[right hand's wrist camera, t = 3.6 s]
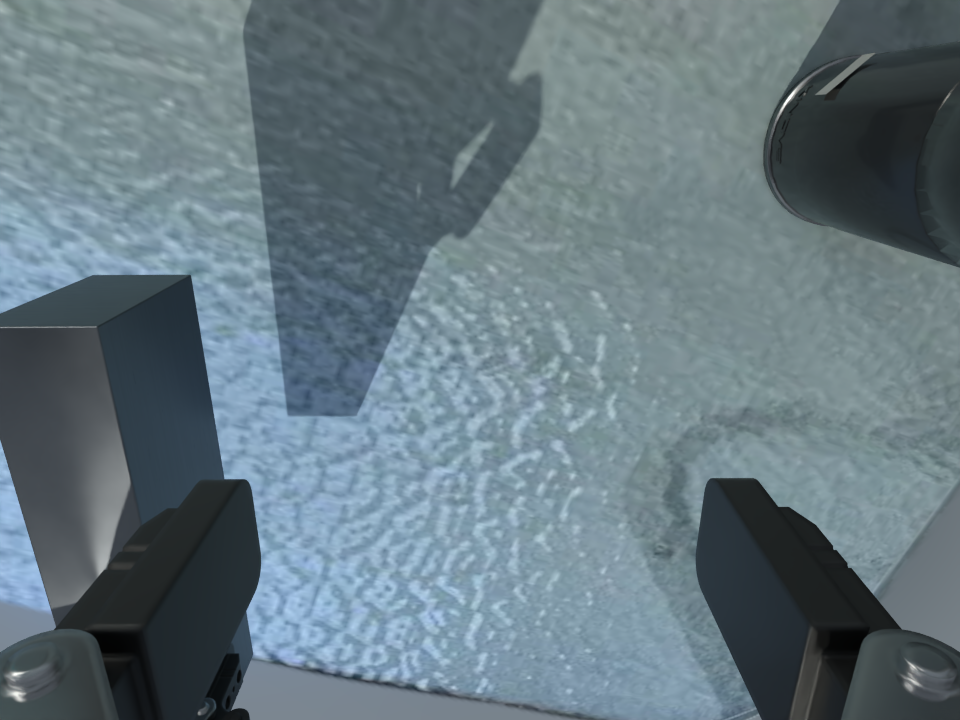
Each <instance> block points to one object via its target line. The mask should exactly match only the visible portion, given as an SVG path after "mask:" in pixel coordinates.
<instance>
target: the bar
mask: <svg viewBox="0 0 960 720" xmlns="http://www.w3.org/2000/svg"><path fill="white" fill-rule="evenodd" d="M0 440H1V443H2V447H3V450H4V453H5V457H6V460H7V463H8V467H9V470H10V473H11V477H12V480H13V484H14V487H15V490H16V494H17V497H18V500H19V504H20V507H21V510H22V514H23V517H24V520H25V524H26V527H27V531H28V534H29V537H30V541H31V544H32V547H33V551H34V554H35V557H36V561H37V564H38V567H39V571H40V574H41V578H42V581H43V584H44V588H45V591H46V594H47V598H48V601H49V604H50V608H51V611H52V614H53V618H54V621H55V624H56V627H57V626H58V624H59V623H60V622H61V621H62V620H63V618H64V617H65V616H66V615H67V614H68V612H69V611H70V610H71V609H72V608H73V606H74V605H75V604H76V603H77V602H78V600H79V599H80V598H81V597H82V596H83V594H84V593H85V592H86V591H87V590H88V588H89V587H90V586H91V585H92V584H93V582H94V581H95V580H96V579H97V578H98V576H99V575H100V574H101V573H102V572H103V570H107V569H108V564H109V563H110V562H111V561H112V560H113V558H114V557H115V556H116V555H117V554H118V552H122V550H123V546H124V545H125V544H126V543H127V541H128V540H129V539H130V538H131V537H132V535H133V534H134V533H135V532H136V531H137V529H138V528H139V527H140V526H141V525H143V524H144V523H146V522H147V521H149V520H150V519H152V518H153V517H155V516H156V515H158V514H159V513H161V512H162V511H164V510H165V509H167V508H178V507H179V506H180V505H181V503H182V502H183V501H184V499H185V498H186V497H187V496H188V494H189V493H190V492H191V490H192V489H193V488H194V486H195V485H196V484H197V483H198V482H199V481H200V480H203V479H224V474H223V468H222V462H221V455H220V449H219V443H218V437H217V431H216V425H215V419H214V413H213V407H212V401H211V395H210V388H209V382H208V376H207V370H206V364H205V358H204V352H203V346H202V340H201V334H200V328H199V322H198V315H197V309H196V303H195V297H194V291H193V285H192V279H191V275H92V276H90V277H88V278H85V279H83V280H80V281H78V282H75V283H73V284H71V285H68V286H66V287H63V288H61V289H59V290H56V291H54V292H51V293H49V294H47V295H44V296H42V297H39V298H37V299H34V300H32V301H30V302H27V303H25V304H22V305H20V306H18V307H15V308H13V309H10V310H8V311H6V312H3V313H1V314H0ZM231 643H233V645H234V650H235V653H239V656H240V662H241V667H242V673H243V677H244V675H245V673H246V670H247V668H248V665H249V663H250V661H251V658H252V656H253V650H252V644H251V638H250V632H249V626H248V620H247V614H246V612H245V614H244V617H243V619H242V621H241V623H240V625H239V627H238V629H237V631H236V633H235V636H234V638H233V640H232V642H231Z"/></svg>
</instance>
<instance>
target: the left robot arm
mask: <svg viewBox="0 0 960 720" xmlns="http://www.w3.org/2000/svg"><path fill="white" fill-rule="evenodd" d="M242 683H243V673H242V667H241V662H240V656H239V653H235V650H234V645H233V643H231V644H230V646H229V648H228V650H227V652H226V655H225V657H224V659H223V661H222V663H221V665H220V667H219V669H218V671H217V674H216V676H215V678H214V680H213V682H212V684H211V686H210V688H209V690H208V693H207V695H206V697H205V699H204V701H203V703H202V705H201V707H200V709H199V712H198V714H197V716H196V718H195V720H250V717H249V713H248V711H247V710H245V709H241V708H238V709H234V710H232V711H231V709H232V707H233V704H234V702H235V699H236V696H237V695H238V692H239V689H240V687H241V685H242Z"/></svg>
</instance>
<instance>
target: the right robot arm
mask: <svg viewBox="0 0 960 720" xmlns="http://www.w3.org/2000/svg"><path fill="white" fill-rule="evenodd" d="M874 54H875V53H871V54H865V55H857V56H850V57H845V58H841V59H837V60H834V61H831V62H829V63H826V64H824V65H822V66H820V67H818V68H816V69H815V70H813V71H812V72H810V73H809V74H807V75H806V76H805V77H803V78H802V79H801V80H800V81H799V82H798V83H797V84H795V85H794V87H793V88H792V89H791V90H790V91H789V92H788V93H787V95H786V96H785V97H784V98H783V100H782V101H781V103H780V104H779V106H778V108H777V109H776V111H775V113H774V115H773V117H772V119H771V122H770V124H769V127H768V130H767V134H766V138H765V144H764V154H763V158H764V170H765V175H766V179H767V182H768V184H769V187H770V189H771V191H772V193H773V195H774V196H775V198H776V199H777V200H778V202H779V203H780V204H781V205H782V206H783V207H784V208H785V209H786V210H787V211H789V212H790V213H791V214H793V215H794V216H796V217H798V218H800V219H802V220H805V221H808V222H811V223H814V224H818V225H822V226H830V227H833V228H836V229H838V230H841V231H844V232H847V233H851V234H854V235H857V236H860V237H863V238H867V239H870V240H873V241H876V242H879V243H883V244H886V245H889V246H892V247H895V248H899V249H902V250H905V251H908V252H911V253H915V254H918V255H921V256H924V257H927V258H931V259H934V260H937V261H940V262H943V263H947V264H950V265H953V266H956V267H959V268H960V41H958V42H952V43H946V44H939V45H933V46H927V47H920V48H914V49H908V50H902V51H895V52H887V53H882V54H876V55H874ZM260 570H261V552H260V545H259V538H258V531H257V524H256V517H255V510H254V503H253V496H252V490H251V487H250V484H249V482H248V481H247V480H245V479H203V480H200V481H199V482H198V483H197V484H196V485H195V486H194V488H193V489H192V490H191V492H190V493H189V494H188V496H187V497H186V498H185V499H184V501H183V502H182V503H181V505H180V506H179V507H178V508H167V509H165V510H164V511H162V512H161V513H159V514H158V515H156V516H155V517H153V518H152V519H150V520H149V521H147V522H146V523H144V524H143V525H141V526H140V527H139V528H138V529H137V531H136V532H135V533H134V534H133V535H132V537H131V538H130V539H129V540H128V541H127V543H126V544H125V545H124V546H123V550H122V552H118V554H117V555H116V556H115V557H114V558H113V560H112V561H111V562H110V563H109V564H108V569H107V570H103V572H102V573H101V574H100V575H99V576H98V578H97V579H96V580H95V581H94V582H93V584H92V585H91V586H90V587H89V588H88V590H87V591H86V592H85V593H84V594H83V596H82V597H81V598H80V599H79V600H78V602H77V603H76V604H75V605H74V606H73V608H72V609H71V610H70V611H69V612H68V614H67V615H66V616H65V617H64V618H63V620H62V621H61V622H60V623H59V624H58V626H57V627H56V628H55V629H54V630H52V631H48V632H44V633H40V634H37V635H34V636H31V637H28V638H26V639H24V640H21V641H19V642H17V643H15V644H13V645H11V646H9V647H8V648H6V649H5V650H3V651H1V652H0V720H195V718H196V716H197V714H198V712H199V709H200V707H201V705H202V703H203V701H204V699H205V697H206V695H207V693H208V690H209V688H210V686H211V684H212V682H213V680H214V678H215V676H216V674H217V671H218V669H219V667H220V665H221V663H222V661H223V659H224V657H225V655H226V652H227V650H228V648H229V646H230V644H231V642H232V640H233V638H234V636H235V633H236V631H237V629H238V627H239V625H240V623H241V621H242V619H243V617H244V614H245V612H246V610H247V608H248V606H249V604H250V602H251V600H252V598H253V595H254V593H255V591H256V588H257V585H258V582H259V577H260ZM696 571H697V577H698V582H699V585H700V588H701V591H702V593H703V595H704V597H705V599H706V601H707V603H708V606H709V608H710V610H711V612H712V614H713V616H714V618H715V621H716V623H717V625H718V627H719V629H720V631H721V633H722V636H723V638H724V640H725V642H726V644H727V646H728V648H729V650H730V653H731V655H732V657H733V659H734V661H735V663H736V665H737V668H738V670H739V672H740V674H741V676H742V678H743V680H744V682H745V685H746V687H747V689H748V691H749V693H750V695H751V697H752V700H753V702H754V704H755V706H756V708H757V710H758V712H759V715H760V717H761V719H762V720H960V652H959V651H957V650H955V649H954V648H952V647H951V646H949V645H947V644H945V643H943V642H941V641H939V640H936V639H934V638H932V637H929V636H926V635H923V634H920V633H916V632H912V631H908V630H902V629H901V628H900V627H899V626H898V624H897V623H896V622H895V621H894V619H893V618H892V617H891V616H890V615H889V613H888V612H887V611H886V610H885V608H884V607H883V606H882V605H881V604H880V602H879V601H878V600H877V599H876V598H875V596H874V595H873V594H872V593H871V591H870V590H869V589H868V588H867V587H866V585H865V584H864V583H863V582H862V581H861V579H860V578H859V577H858V576H857V574H856V573H855V572H854V571H853V570H852V568H848V566H847V562H846V561H845V560H844V559H843V557H842V556H841V555H840V554H839V553H838V551H837V550H833V545H832V544H831V543H830V542H829V540H828V539H827V538H826V537H825V536H824V534H823V533H822V532H821V531H820V530H819V528H818V527H817V526H816V525H815V524H814V523H812V522H811V521H809V520H808V519H806V518H805V517H803V516H802V515H800V514H799V513H797V512H796V511H794V510H793V509H791V508H790V507H778V506H777V505H776V503H775V502H774V501H773V499H772V498H771V497H770V496H769V494H768V493H767V492H766V490H765V489H764V488H763V486H762V485H761V484H760V483H759V481H758V480H756V479H754V478H711V479H709V481H708V482H707V484H706V487H705V492H704V499H703V506H702V513H701V520H700V527H699V534H698V541H697V549H696Z"/></svg>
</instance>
